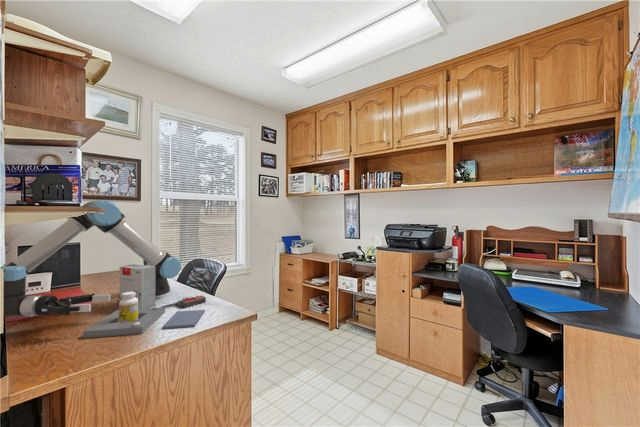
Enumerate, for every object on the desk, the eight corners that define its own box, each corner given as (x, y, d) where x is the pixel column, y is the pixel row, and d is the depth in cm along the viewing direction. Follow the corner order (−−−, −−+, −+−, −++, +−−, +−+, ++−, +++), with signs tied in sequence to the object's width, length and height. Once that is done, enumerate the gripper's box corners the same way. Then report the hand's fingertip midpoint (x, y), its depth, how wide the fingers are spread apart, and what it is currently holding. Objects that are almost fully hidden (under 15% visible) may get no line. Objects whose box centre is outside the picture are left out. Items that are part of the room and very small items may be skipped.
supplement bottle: (115, 325, 116) (115, 294, 117) (132, 319, 122) (132, 290, 122) (124, 328, 113) (124, 296, 113) (141, 322, 119) (141, 292, 119)
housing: (117, 315, 128) (117, 307, 128) (165, 312, 131) (165, 304, 131) (83, 338, 104) (83, 328, 104) (142, 333, 108) (142, 324, 108)
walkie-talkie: (199, 299, 152) (160, 309, 136) (199, 291, 152) (160, 300, 136) (208, 302, 147) (168, 313, 131) (208, 294, 147) (168, 304, 131)
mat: (176, 313, 130) (177, 311, 130) (204, 311, 132) (204, 309, 132) (162, 329, 112) (162, 326, 112) (194, 326, 114) (194, 324, 114)
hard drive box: (119, 307, 140) (118, 266, 140) (133, 302, 147) (133, 264, 147) (142, 310, 135) (142, 268, 135) (156, 305, 142) (156, 265, 142)
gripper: (63, 305, 124) (116, 302, 128) (12, 326, 100) (80, 322, 103) (63, 288, 124) (116, 286, 128) (12, 305, 100) (80, 302, 104)
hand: (100, 302), depth 116 cm, fingers open, 13 cm apart
